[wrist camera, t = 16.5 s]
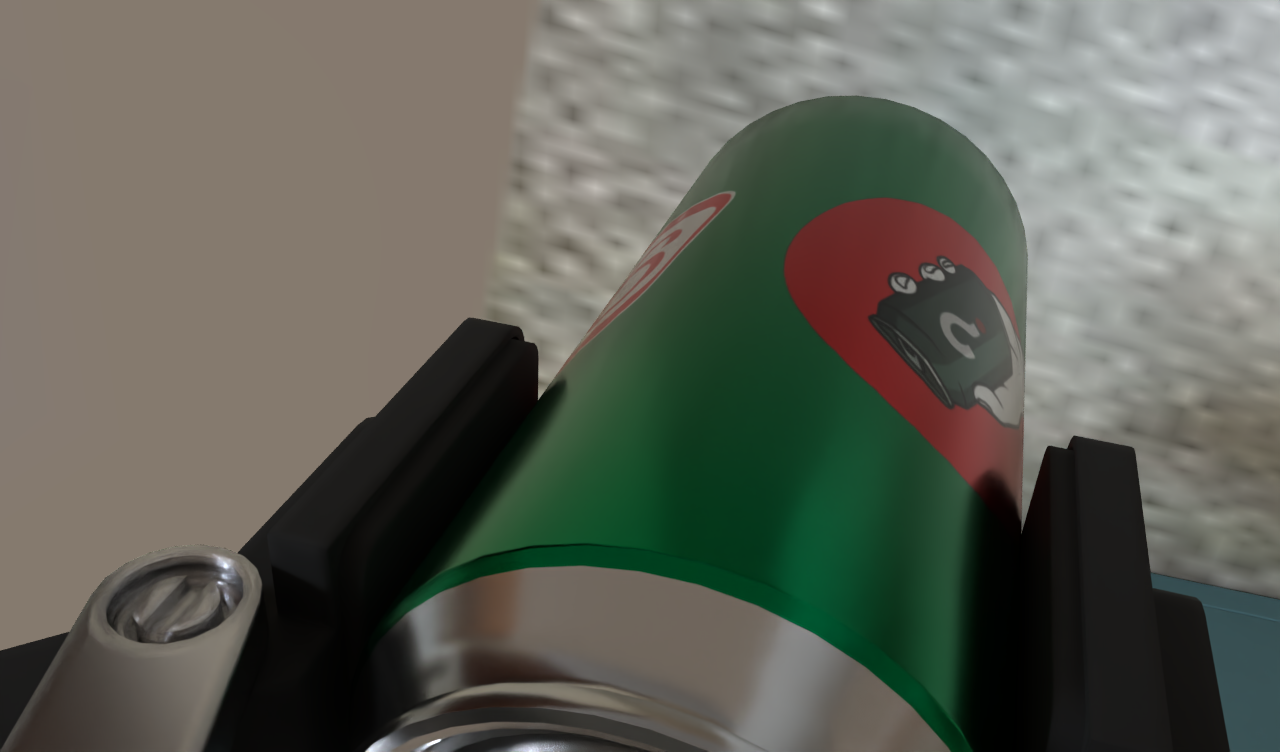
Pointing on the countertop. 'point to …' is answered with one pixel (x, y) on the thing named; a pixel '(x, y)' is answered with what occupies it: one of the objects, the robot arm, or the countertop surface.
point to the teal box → (1241, 660)
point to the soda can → (753, 479)
